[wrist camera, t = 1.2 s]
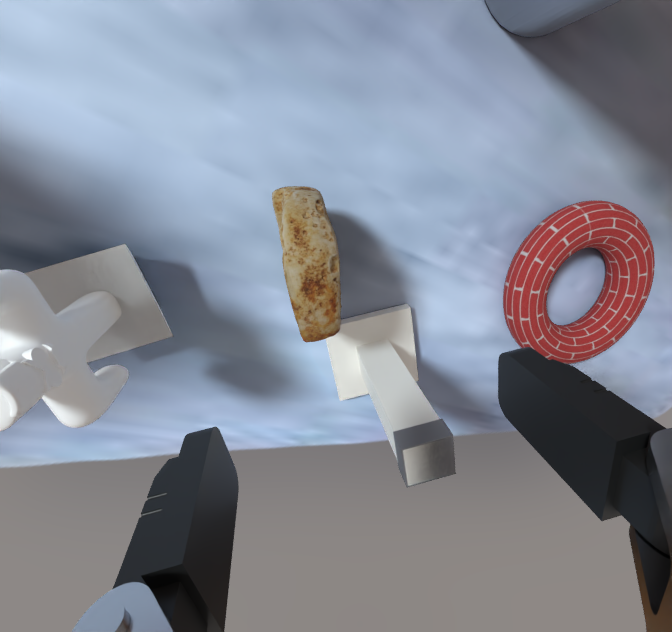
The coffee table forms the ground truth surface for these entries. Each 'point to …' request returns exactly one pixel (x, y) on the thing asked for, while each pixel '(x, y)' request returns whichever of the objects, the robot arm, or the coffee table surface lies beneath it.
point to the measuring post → (392, 389)
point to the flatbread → (309, 261)
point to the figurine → (72, 334)
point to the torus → (617, 293)
